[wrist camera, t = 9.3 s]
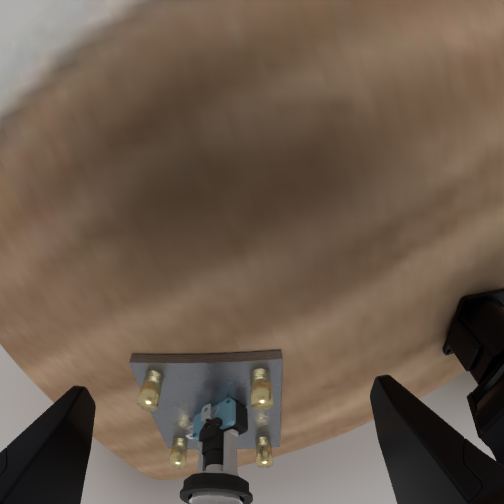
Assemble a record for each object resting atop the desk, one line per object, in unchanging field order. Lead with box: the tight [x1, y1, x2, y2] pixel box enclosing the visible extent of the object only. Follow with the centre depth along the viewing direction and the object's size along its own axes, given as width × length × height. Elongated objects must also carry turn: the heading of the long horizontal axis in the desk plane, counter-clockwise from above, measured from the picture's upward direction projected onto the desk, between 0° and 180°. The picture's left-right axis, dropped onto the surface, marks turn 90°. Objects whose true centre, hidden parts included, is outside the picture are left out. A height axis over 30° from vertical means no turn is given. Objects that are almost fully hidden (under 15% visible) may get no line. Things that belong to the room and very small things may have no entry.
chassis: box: [129, 350, 282, 468], centre depth 26 cm, size 12×14×4 cm
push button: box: [180, 398, 253, 504], centre depth 22 cm, size 7×5×10 cm
